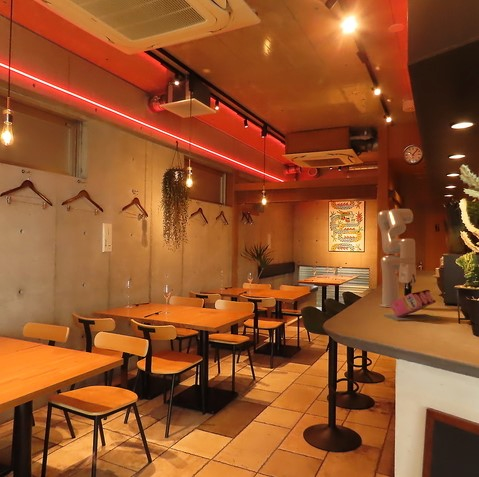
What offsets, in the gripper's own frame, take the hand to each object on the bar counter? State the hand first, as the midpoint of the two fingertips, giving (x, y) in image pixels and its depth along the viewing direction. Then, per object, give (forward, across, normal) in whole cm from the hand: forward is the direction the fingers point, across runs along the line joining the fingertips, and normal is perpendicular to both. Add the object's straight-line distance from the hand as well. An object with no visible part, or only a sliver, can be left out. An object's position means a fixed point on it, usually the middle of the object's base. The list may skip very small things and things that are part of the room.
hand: (407, 296), depth 219 cm
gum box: (+7, -2, -2) cm, 8 cm away
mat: (+11, +5, 0) cm, 12 cm away
